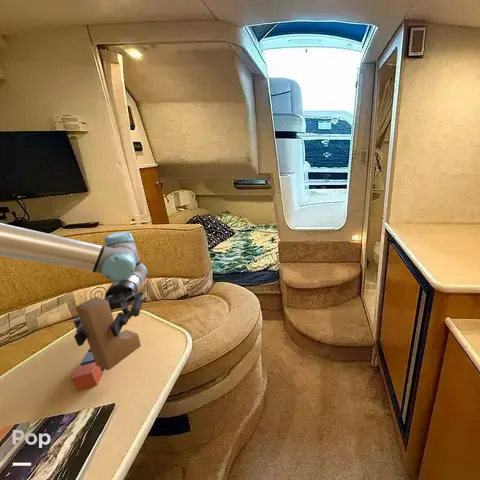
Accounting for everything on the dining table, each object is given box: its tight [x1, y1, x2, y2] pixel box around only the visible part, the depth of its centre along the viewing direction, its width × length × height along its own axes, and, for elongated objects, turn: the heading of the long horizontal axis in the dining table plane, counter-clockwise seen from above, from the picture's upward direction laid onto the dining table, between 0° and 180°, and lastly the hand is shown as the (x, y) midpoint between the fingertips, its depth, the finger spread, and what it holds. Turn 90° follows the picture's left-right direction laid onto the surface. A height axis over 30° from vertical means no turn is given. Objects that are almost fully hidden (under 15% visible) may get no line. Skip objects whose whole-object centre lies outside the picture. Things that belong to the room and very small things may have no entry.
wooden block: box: [75, 296, 142, 371], centre depth 67 cm, size 9×4×18 cm, turn 161°
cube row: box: [70, 347, 105, 392], centre depth 78 cm, size 15×4×4 cm, turn 22°
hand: (96, 336), depth 62 cm, fingers closed on wooden block, 6 cm apart
